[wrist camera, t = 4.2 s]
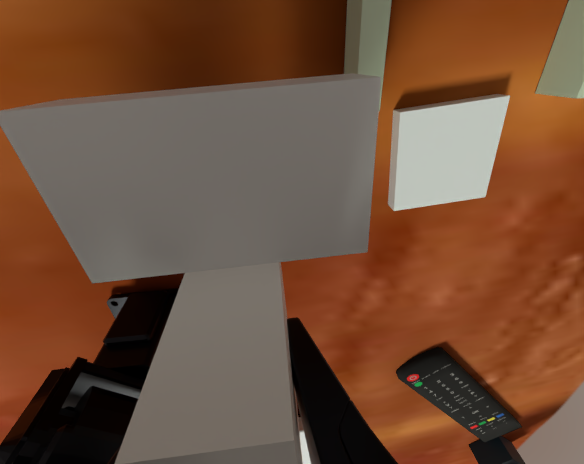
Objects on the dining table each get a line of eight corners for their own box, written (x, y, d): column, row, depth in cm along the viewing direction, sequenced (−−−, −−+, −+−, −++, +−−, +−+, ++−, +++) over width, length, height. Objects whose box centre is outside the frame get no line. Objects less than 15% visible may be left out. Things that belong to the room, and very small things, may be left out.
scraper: (343, 353, 13) (397, 551, 8) (186, 373, 12) (132, 592, 7) (352, 73, 7) (602, 103, 2) (61, 99, 7) (-590, 219, 2)
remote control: (478, 431, 40) (484, 442, 39) (390, 364, 30) (395, 376, 29) (514, 415, 39) (522, 426, 38) (435, 339, 28) (442, 351, 27)
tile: (470, 188, 20) (485, 197, 18) (385, 201, 20) (393, 210, 18) (491, 93, 17) (510, 95, 15) (389, 108, 17) (400, 112, 15)
